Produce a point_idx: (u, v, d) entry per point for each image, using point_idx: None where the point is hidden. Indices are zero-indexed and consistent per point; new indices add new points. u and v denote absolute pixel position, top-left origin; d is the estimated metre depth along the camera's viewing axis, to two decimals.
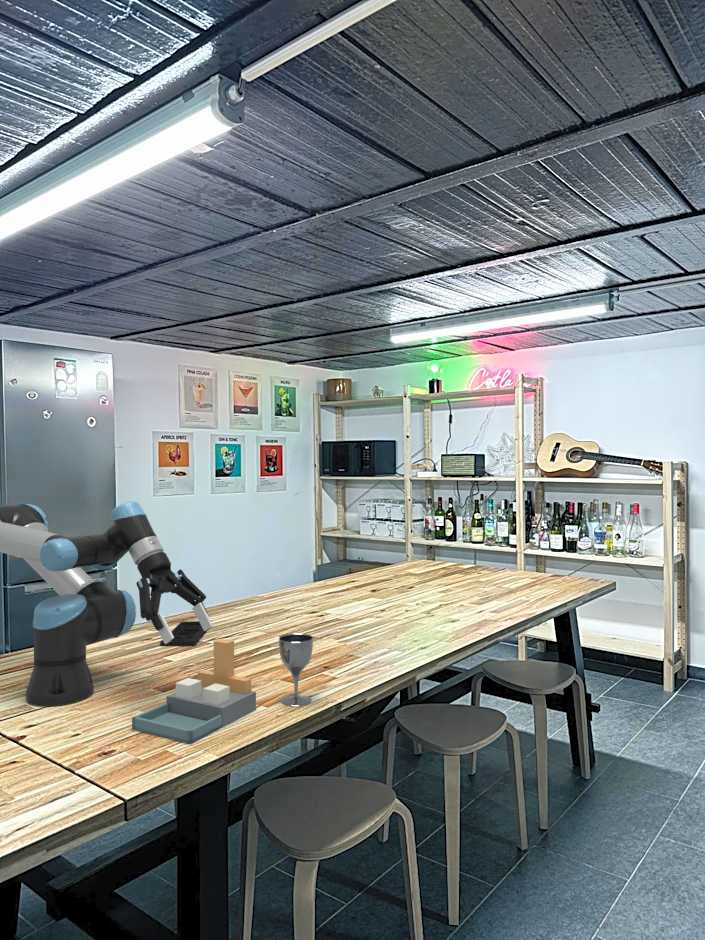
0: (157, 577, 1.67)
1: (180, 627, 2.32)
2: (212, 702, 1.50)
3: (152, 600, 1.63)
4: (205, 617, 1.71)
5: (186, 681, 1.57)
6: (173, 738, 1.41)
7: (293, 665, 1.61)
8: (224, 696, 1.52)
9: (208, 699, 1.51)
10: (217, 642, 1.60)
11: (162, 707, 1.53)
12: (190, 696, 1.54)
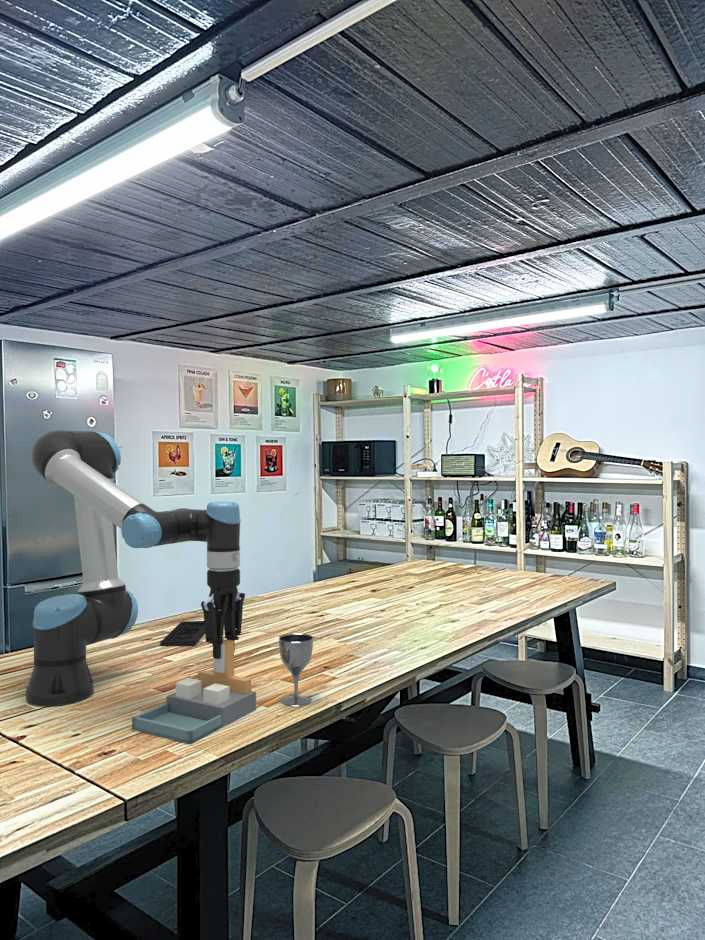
0: (221, 593, 1.58)
1: (180, 627, 2.32)
2: (212, 702, 1.50)
3: (215, 623, 1.58)
4: None
5: (186, 681, 1.57)
6: (173, 738, 1.41)
7: (293, 665, 1.61)
8: (224, 696, 1.52)
9: (208, 699, 1.51)
10: None
11: (162, 707, 1.53)
12: (190, 696, 1.54)
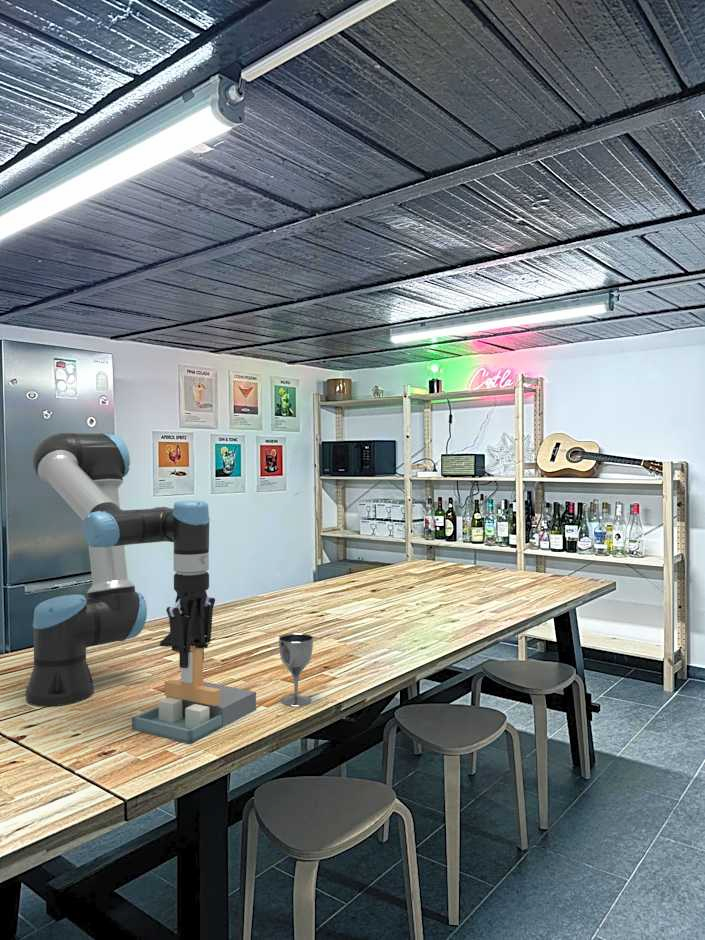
0: (188, 598, 1.48)
1: None
2: None
3: (182, 630, 1.49)
4: None
5: (163, 710, 1.50)
6: (173, 738, 1.41)
7: (293, 665, 1.61)
8: (205, 717, 1.46)
9: None
10: None
11: None
12: (180, 717, 1.51)
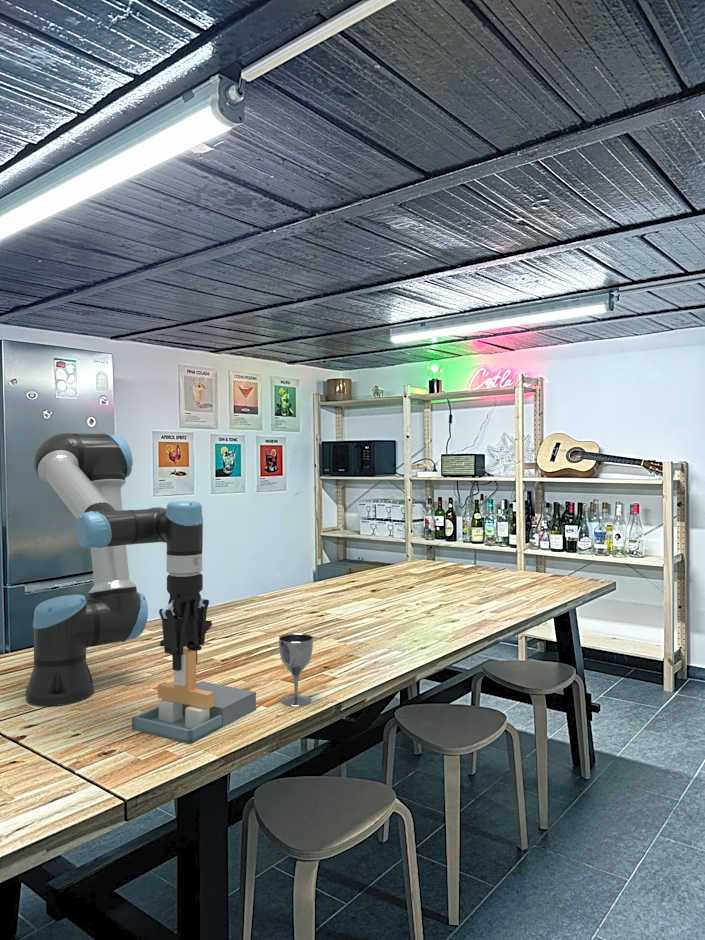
0: (181, 599, 1.47)
1: None
2: None
3: (175, 632, 1.47)
4: None
5: (163, 710, 1.50)
6: (173, 738, 1.41)
7: (293, 665, 1.61)
8: (205, 717, 1.46)
9: None
10: None
11: None
12: (180, 717, 1.51)
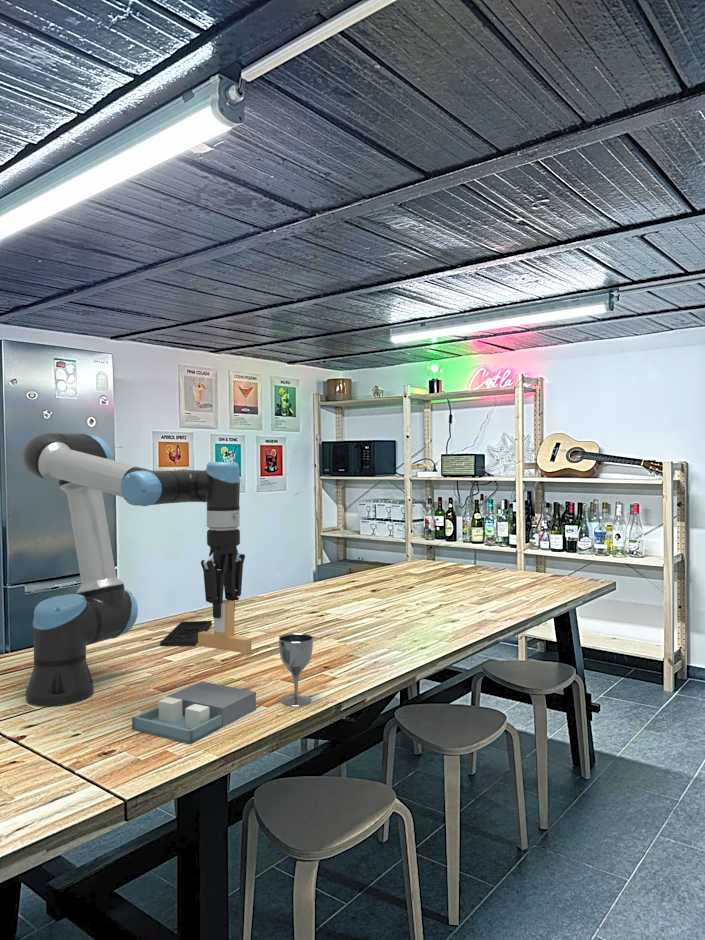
0: (221, 552, 1.58)
1: (180, 627, 2.32)
2: None
3: (215, 583, 1.58)
4: None
5: (163, 710, 1.50)
6: (173, 738, 1.41)
7: (293, 665, 1.61)
8: (205, 717, 1.46)
9: None
10: None
11: None
12: (180, 717, 1.51)
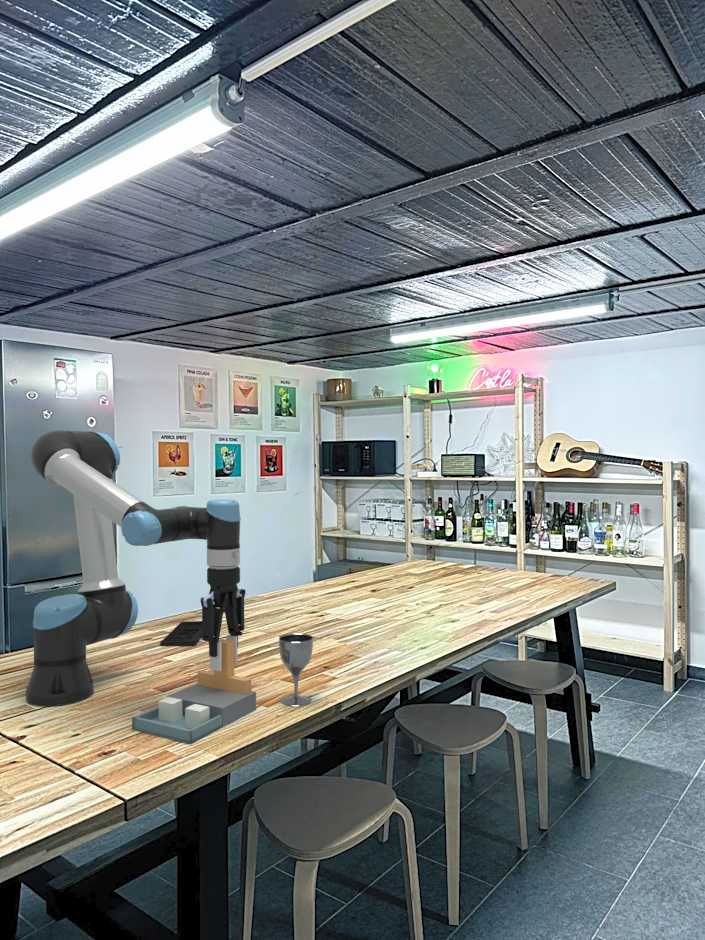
0: (221, 591, 1.58)
1: (180, 627, 2.32)
2: None
3: (213, 621, 1.58)
4: (234, 653, 1.62)
5: (163, 710, 1.50)
6: (173, 738, 1.41)
7: (293, 665, 1.61)
8: (205, 717, 1.46)
9: None
10: None
11: None
12: (180, 717, 1.51)
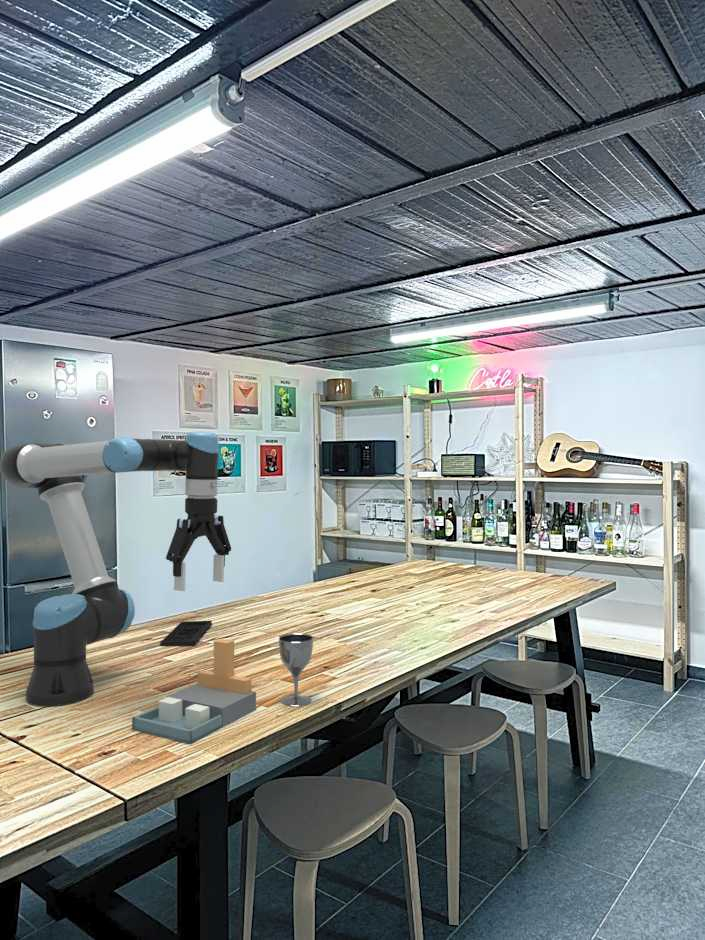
0: (198, 521, 1.63)
1: (180, 627, 2.32)
2: None
3: (183, 543, 1.61)
4: (220, 571, 1.71)
5: (163, 710, 1.50)
6: (173, 738, 1.41)
7: (293, 665, 1.61)
8: (205, 717, 1.46)
9: None
10: (217, 642, 1.60)
11: None
12: (180, 717, 1.51)
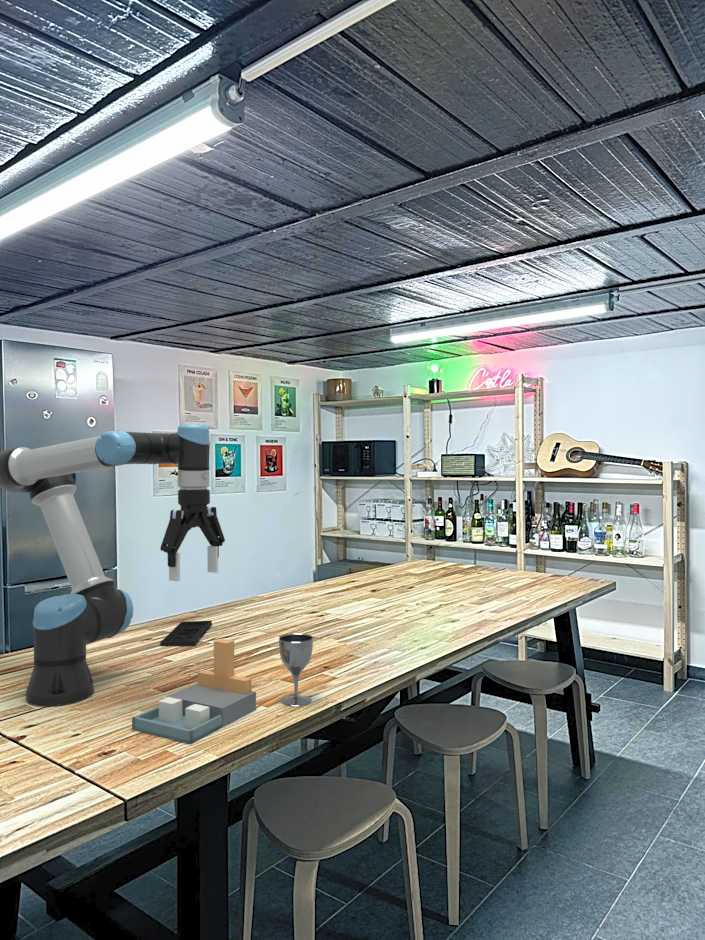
0: (191, 512, 1.65)
1: (180, 627, 2.32)
2: None
3: (177, 534, 1.63)
4: (214, 562, 1.73)
5: (163, 710, 1.50)
6: (173, 738, 1.41)
7: (293, 665, 1.61)
8: (205, 717, 1.46)
9: None
10: (217, 642, 1.60)
11: None
12: (180, 717, 1.51)
